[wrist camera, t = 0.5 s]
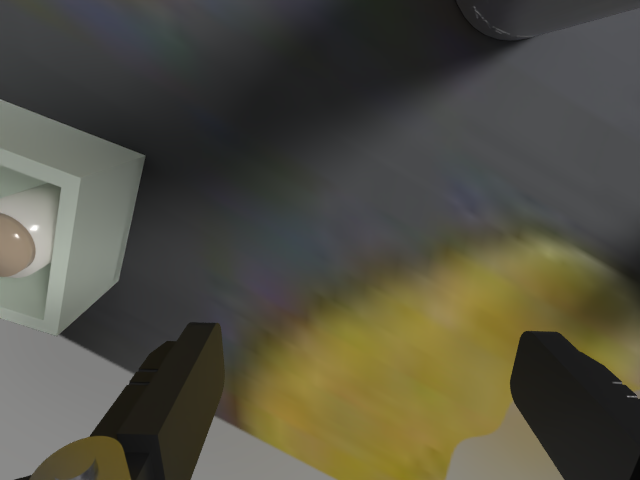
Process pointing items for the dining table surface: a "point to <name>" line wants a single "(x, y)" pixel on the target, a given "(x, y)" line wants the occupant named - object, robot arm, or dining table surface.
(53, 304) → the crate
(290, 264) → the dining table surface
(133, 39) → the dining table surface
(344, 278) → the dining table surface
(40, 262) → the jar
